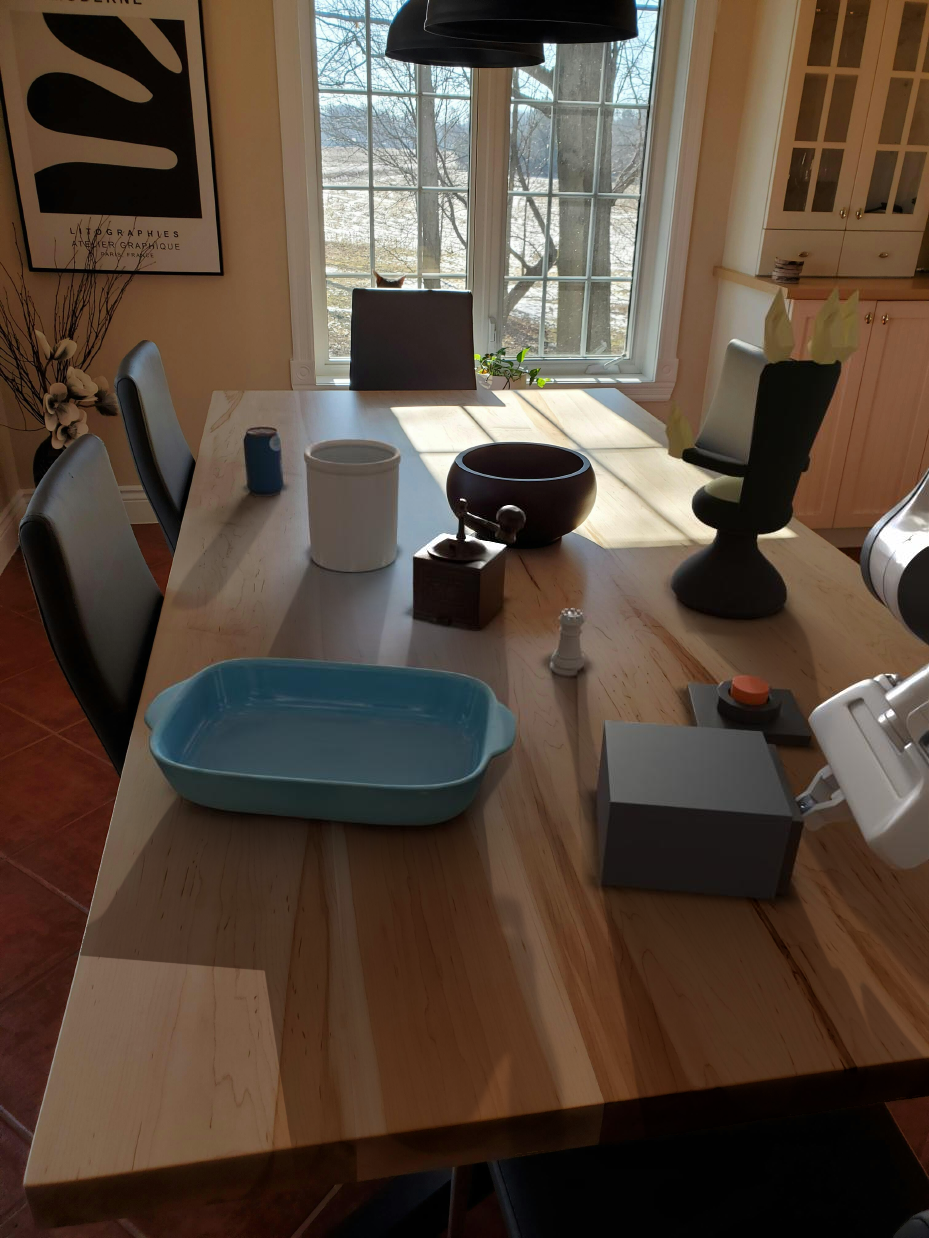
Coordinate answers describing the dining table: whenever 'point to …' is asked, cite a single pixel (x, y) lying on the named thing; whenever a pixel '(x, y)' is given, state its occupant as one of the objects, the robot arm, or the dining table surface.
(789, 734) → the button box
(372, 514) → the utensil holder
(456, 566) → the manual coffee grinder
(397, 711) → the casserole dish
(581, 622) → the rook chess piece
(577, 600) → the dining table surface
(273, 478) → the soda can
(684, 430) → the black plant vase
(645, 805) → the cabinet
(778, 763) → the drawer
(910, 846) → the robot arm
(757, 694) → the button
